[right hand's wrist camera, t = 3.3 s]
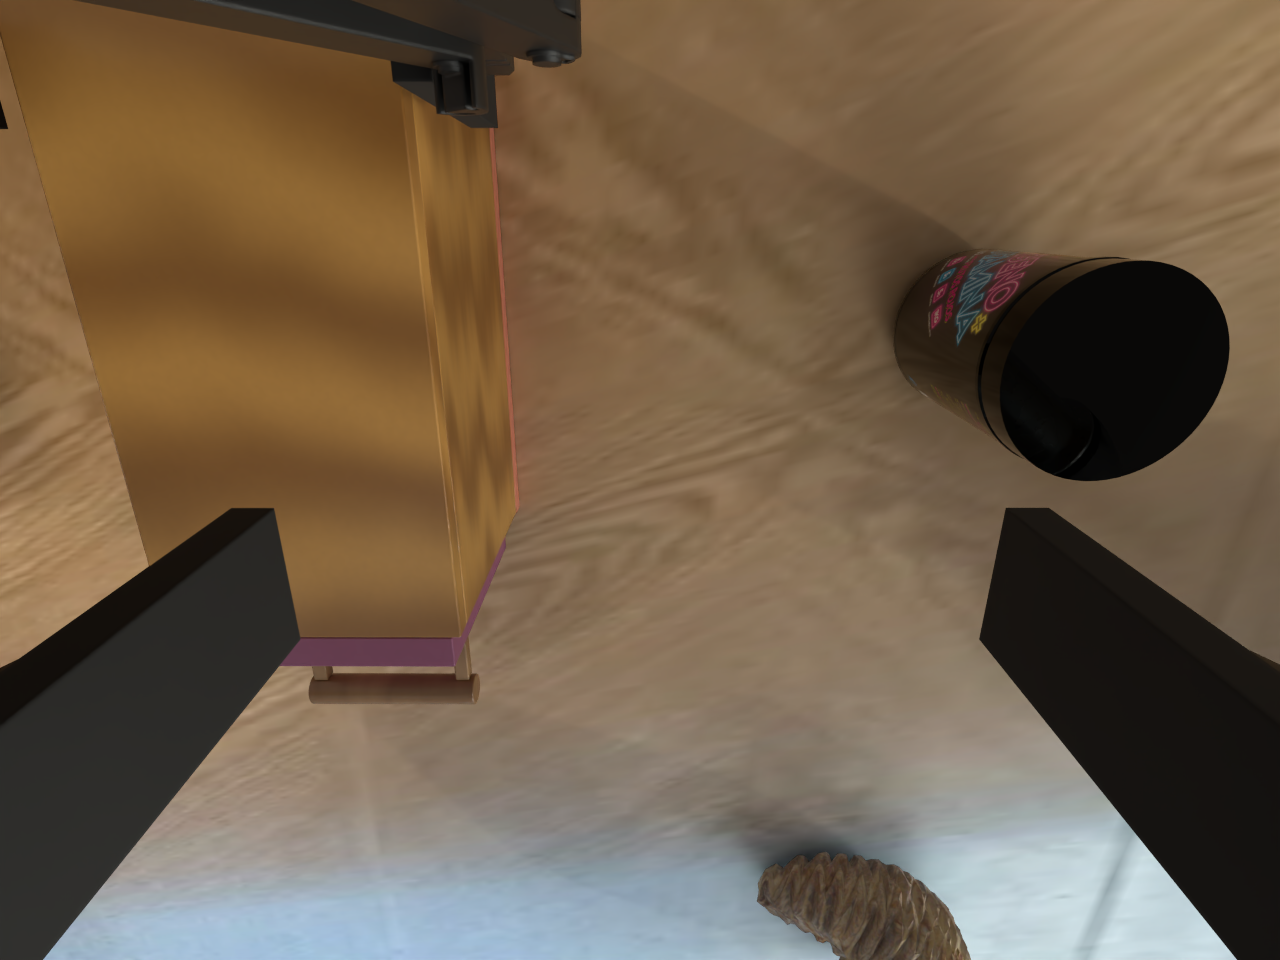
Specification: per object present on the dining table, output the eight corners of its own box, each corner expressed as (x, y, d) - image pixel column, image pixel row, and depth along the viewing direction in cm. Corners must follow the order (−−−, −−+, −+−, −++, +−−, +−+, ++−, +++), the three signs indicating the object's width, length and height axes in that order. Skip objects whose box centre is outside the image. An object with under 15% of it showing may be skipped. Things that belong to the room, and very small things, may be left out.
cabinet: (519, 506, 34) (461, 638, 23) (318, 506, 34) (167, 637, 23) (483, -21, 26) (372, -186, 16) (224, -20, 26) (-63, -183, 16)
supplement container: (1068, 267, 30) (1276, 290, 20) (1004, 416, 32) (1161, 502, 22) (920, 229, 29) (1057, 233, 19) (865, 383, 32) (964, 456, 22)
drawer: (513, 640, 36) (468, 782, 27) (344, 639, 36) (243, 781, 27) (468, 63, 27) (377, -18, 18) (243, 64, 27) (37, -16, 18)
